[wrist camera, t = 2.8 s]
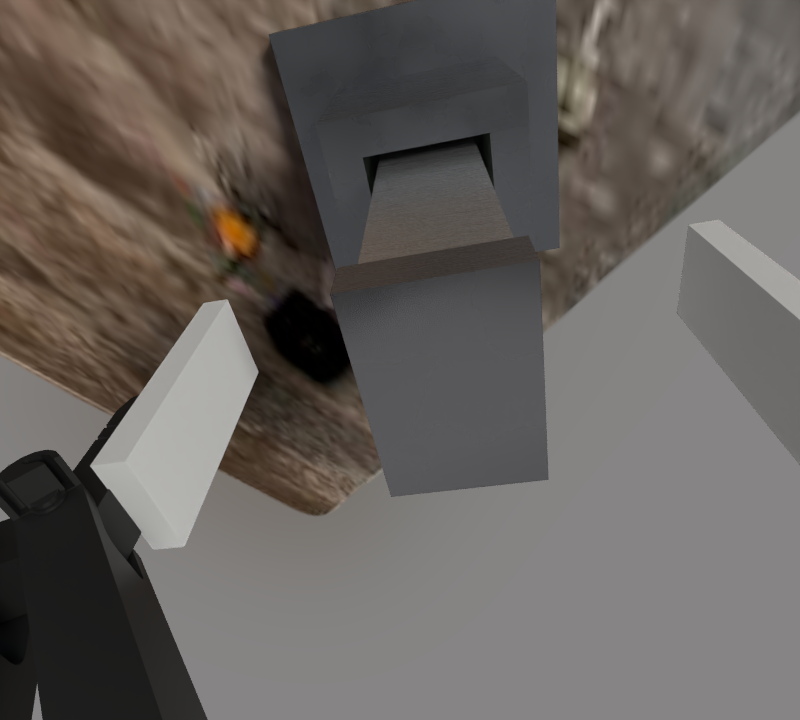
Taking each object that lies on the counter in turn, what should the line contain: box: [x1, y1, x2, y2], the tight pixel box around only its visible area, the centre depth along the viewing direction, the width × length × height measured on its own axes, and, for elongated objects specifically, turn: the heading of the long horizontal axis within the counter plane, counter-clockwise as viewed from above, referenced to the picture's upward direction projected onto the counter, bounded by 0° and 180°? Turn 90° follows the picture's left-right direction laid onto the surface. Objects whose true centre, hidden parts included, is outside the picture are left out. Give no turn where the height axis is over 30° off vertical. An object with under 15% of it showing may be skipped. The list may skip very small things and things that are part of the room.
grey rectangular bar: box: [330, 136, 548, 497], centre depth 20 cm, size 4×6×21 cm
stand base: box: [269, 0, 559, 271], centre depth 26 cm, size 14×14×11 cm
